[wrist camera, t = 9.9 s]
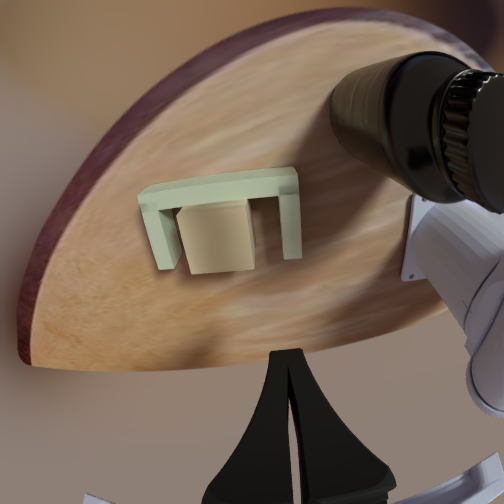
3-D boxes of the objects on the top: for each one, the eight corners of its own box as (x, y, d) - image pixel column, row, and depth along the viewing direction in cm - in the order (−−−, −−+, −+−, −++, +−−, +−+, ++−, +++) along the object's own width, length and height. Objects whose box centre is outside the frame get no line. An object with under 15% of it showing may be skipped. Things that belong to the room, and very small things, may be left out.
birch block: (248, 187, 18) (245, 207, 15) (255, 239, 20) (254, 269, 17) (192, 194, 19) (176, 215, 15) (203, 244, 21) (191, 274, 17)
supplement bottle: (368, 182, 18) (473, 280, 7) (306, 105, 15) (388, 104, 5) (432, 128, 15) (561, 177, 5) (378, 50, 13) (506, 16, 2)
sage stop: (293, 166, 17) (298, 174, 15) (297, 241, 20) (302, 258, 18) (150, 184, 18) (137, 195, 16) (168, 253, 21) (158, 269, 19)
